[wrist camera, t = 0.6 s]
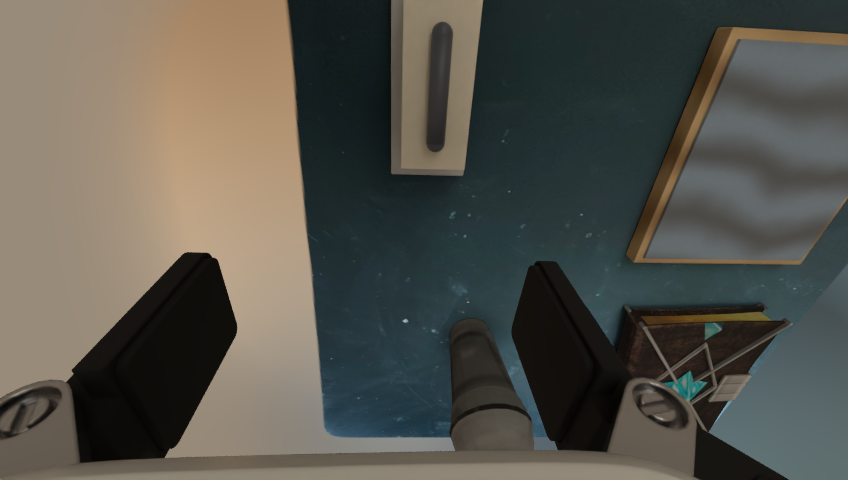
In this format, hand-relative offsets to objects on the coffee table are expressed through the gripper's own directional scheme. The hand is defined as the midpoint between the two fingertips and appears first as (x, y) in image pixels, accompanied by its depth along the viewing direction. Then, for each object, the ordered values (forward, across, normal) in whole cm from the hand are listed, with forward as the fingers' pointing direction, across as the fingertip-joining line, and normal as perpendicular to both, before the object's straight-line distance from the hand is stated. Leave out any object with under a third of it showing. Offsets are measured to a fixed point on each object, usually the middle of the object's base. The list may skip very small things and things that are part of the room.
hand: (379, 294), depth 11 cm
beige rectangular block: (+20, -3, -3) cm, 21 cm away
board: (+20, -33, +1) cm, 39 cm away
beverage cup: (+20, -9, +23) cm, 32 cm away
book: (+20, -36, +28) cm, 49 cm away
